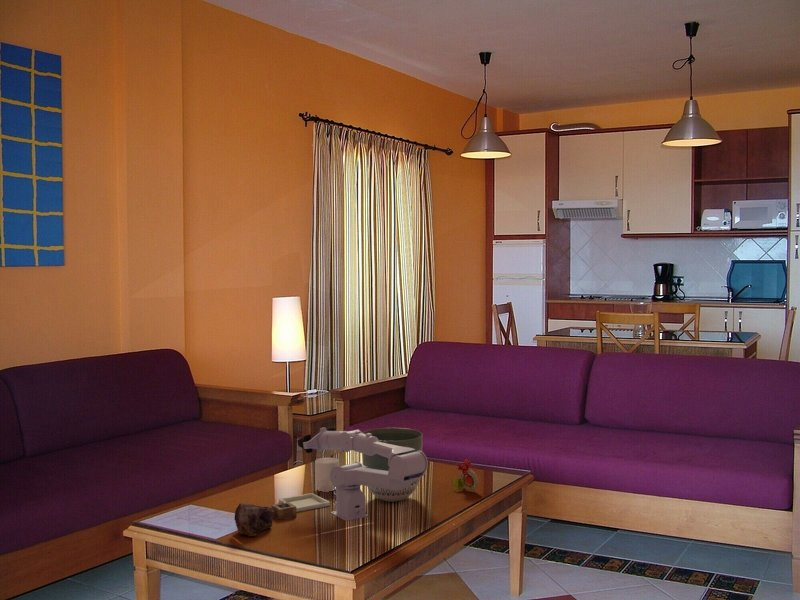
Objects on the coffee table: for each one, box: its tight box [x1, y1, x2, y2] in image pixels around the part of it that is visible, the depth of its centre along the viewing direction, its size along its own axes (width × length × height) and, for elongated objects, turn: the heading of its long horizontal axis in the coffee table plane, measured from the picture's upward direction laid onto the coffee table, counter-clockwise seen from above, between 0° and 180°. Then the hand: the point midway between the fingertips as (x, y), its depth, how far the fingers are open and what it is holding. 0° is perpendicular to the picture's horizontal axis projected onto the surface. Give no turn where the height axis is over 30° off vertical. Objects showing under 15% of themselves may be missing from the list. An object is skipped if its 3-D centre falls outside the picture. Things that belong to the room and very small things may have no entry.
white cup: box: [314, 457, 340, 493], centre depth 282 cm, size 8×8×10 cm
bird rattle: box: [452, 458, 480, 493], centre depth 280 cm, size 6×11×9 cm
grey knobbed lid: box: [276, 502, 293, 520], centre depth 253 cm, size 6×6×4 cm
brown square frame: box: [270, 502, 297, 520], centre depth 253 cm, size 6×7×3 cm
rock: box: [233, 503, 274, 537], centre depth 239 cm, size 12×9×10 cm
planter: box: [361, 427, 424, 503], centre depth 270 cm, size 20×20×21 cm
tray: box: [278, 492, 331, 513], centre depth 265 cm, size 12×12×2 cm
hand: (308, 440), depth 269 cm, fingers open, 7 cm apart
